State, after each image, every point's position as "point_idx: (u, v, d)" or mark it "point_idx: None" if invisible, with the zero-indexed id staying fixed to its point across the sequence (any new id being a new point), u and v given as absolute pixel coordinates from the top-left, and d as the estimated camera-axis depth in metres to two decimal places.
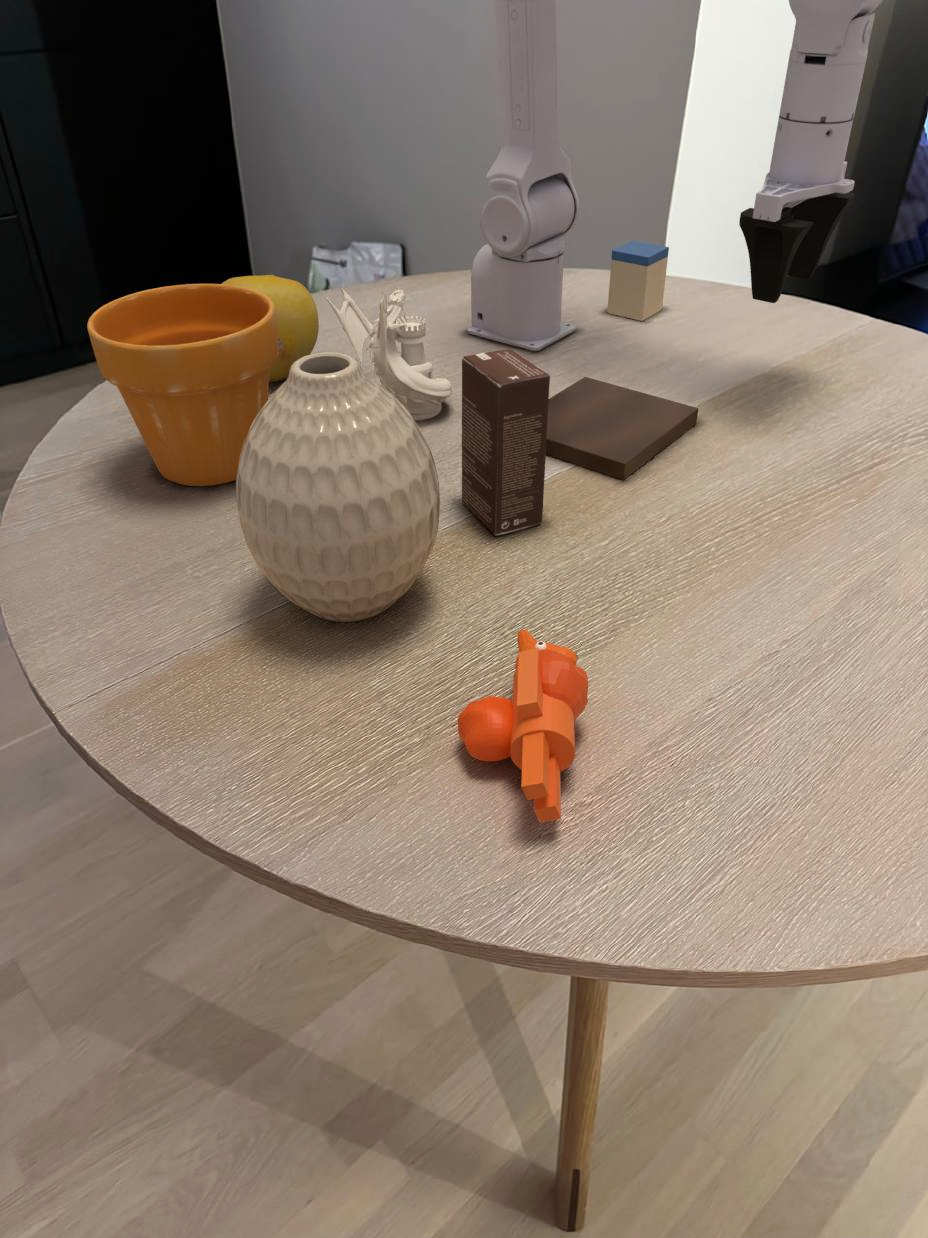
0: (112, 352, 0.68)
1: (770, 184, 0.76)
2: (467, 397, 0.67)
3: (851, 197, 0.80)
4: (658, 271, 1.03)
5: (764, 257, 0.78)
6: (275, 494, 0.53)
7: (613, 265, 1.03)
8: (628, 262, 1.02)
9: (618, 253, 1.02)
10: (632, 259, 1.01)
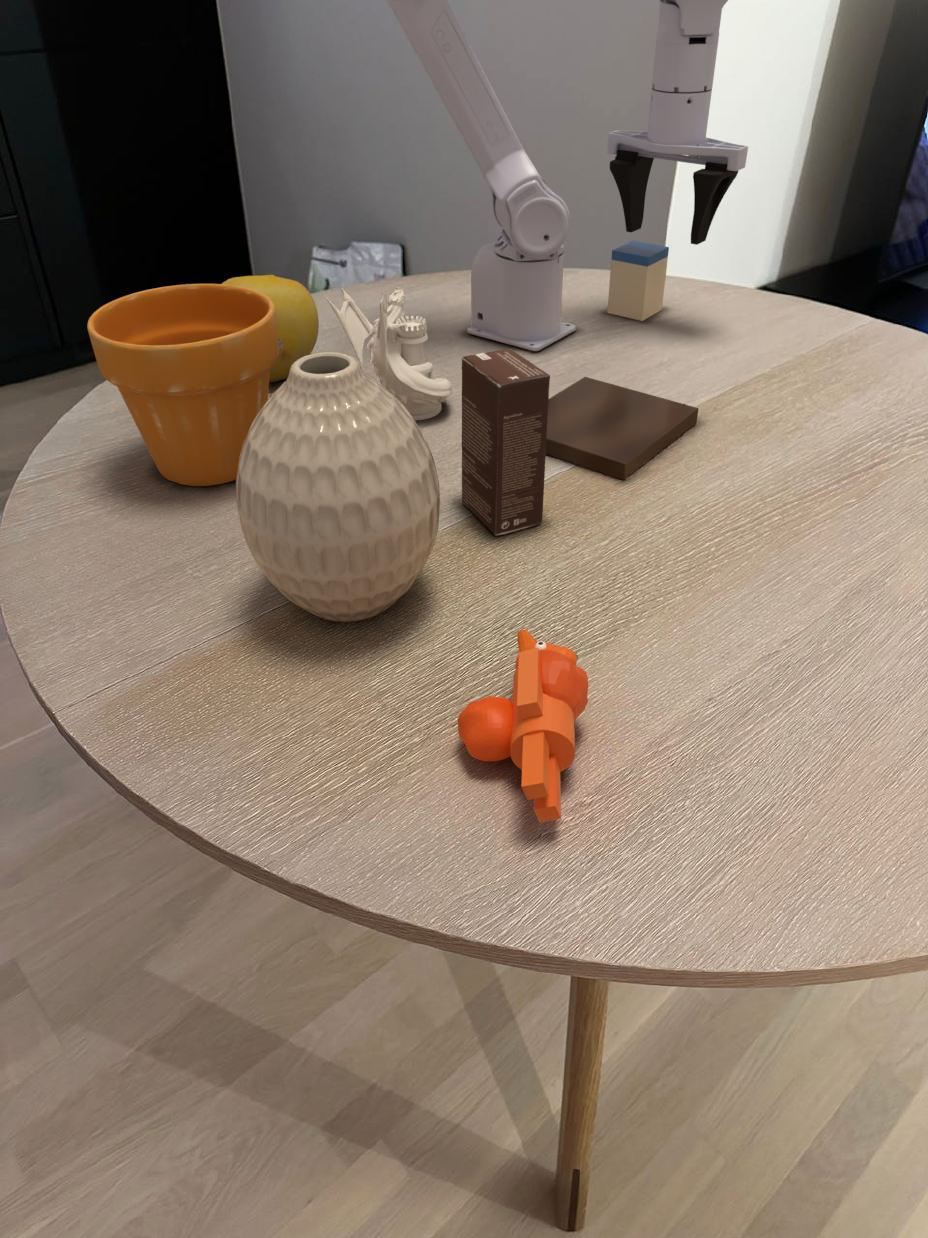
0: (112, 352, 0.68)
1: None
2: (467, 397, 0.67)
3: None
4: (658, 271, 1.03)
5: None
6: (275, 494, 0.53)
7: (613, 265, 1.03)
8: (628, 262, 1.02)
9: (618, 253, 1.02)
10: (632, 259, 1.01)
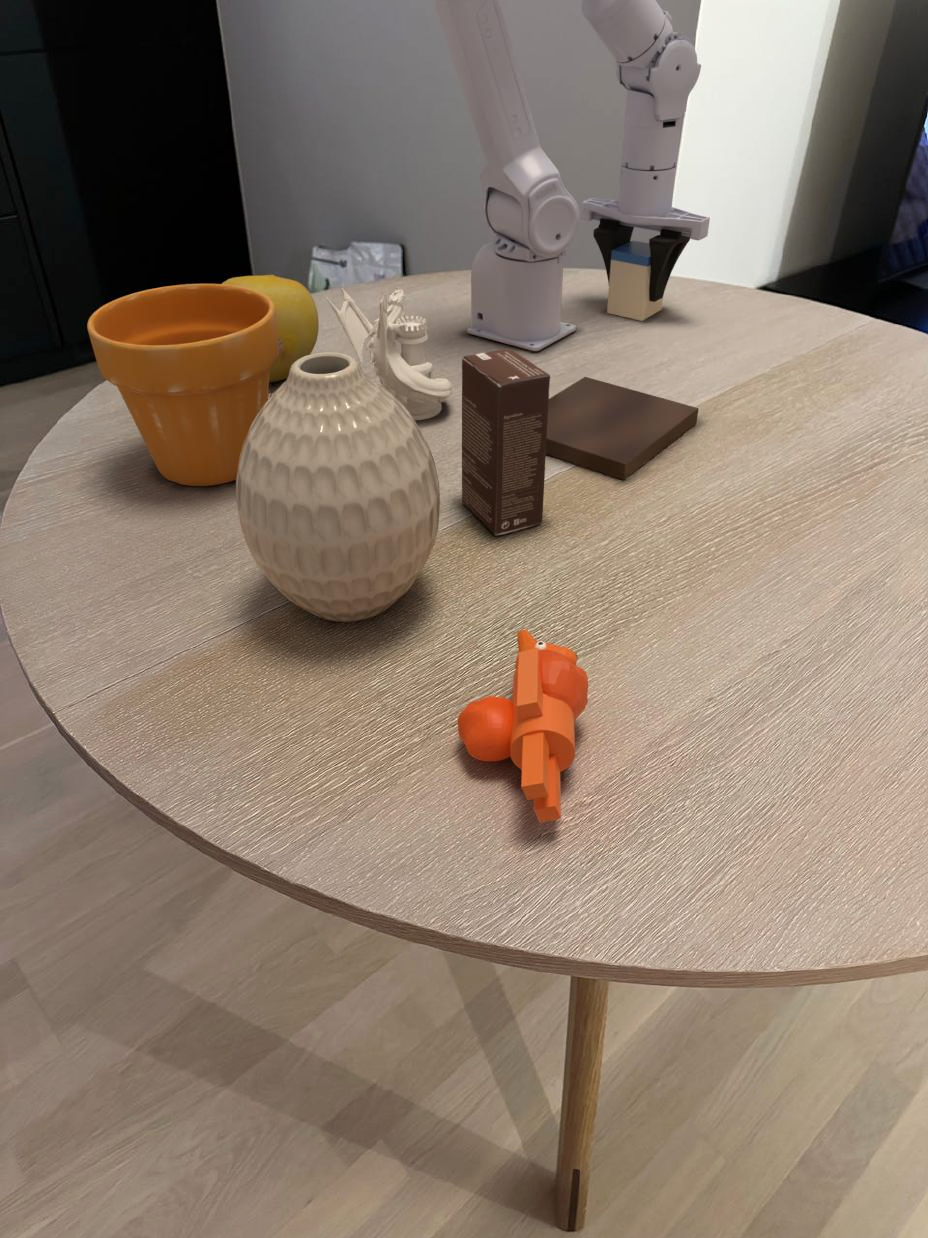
0: (112, 352, 0.68)
1: None
2: (467, 397, 0.67)
3: None
4: None
5: None
6: (275, 494, 0.53)
7: (613, 265, 1.03)
8: (627, 262, 1.02)
9: (618, 253, 1.02)
10: (632, 259, 1.01)
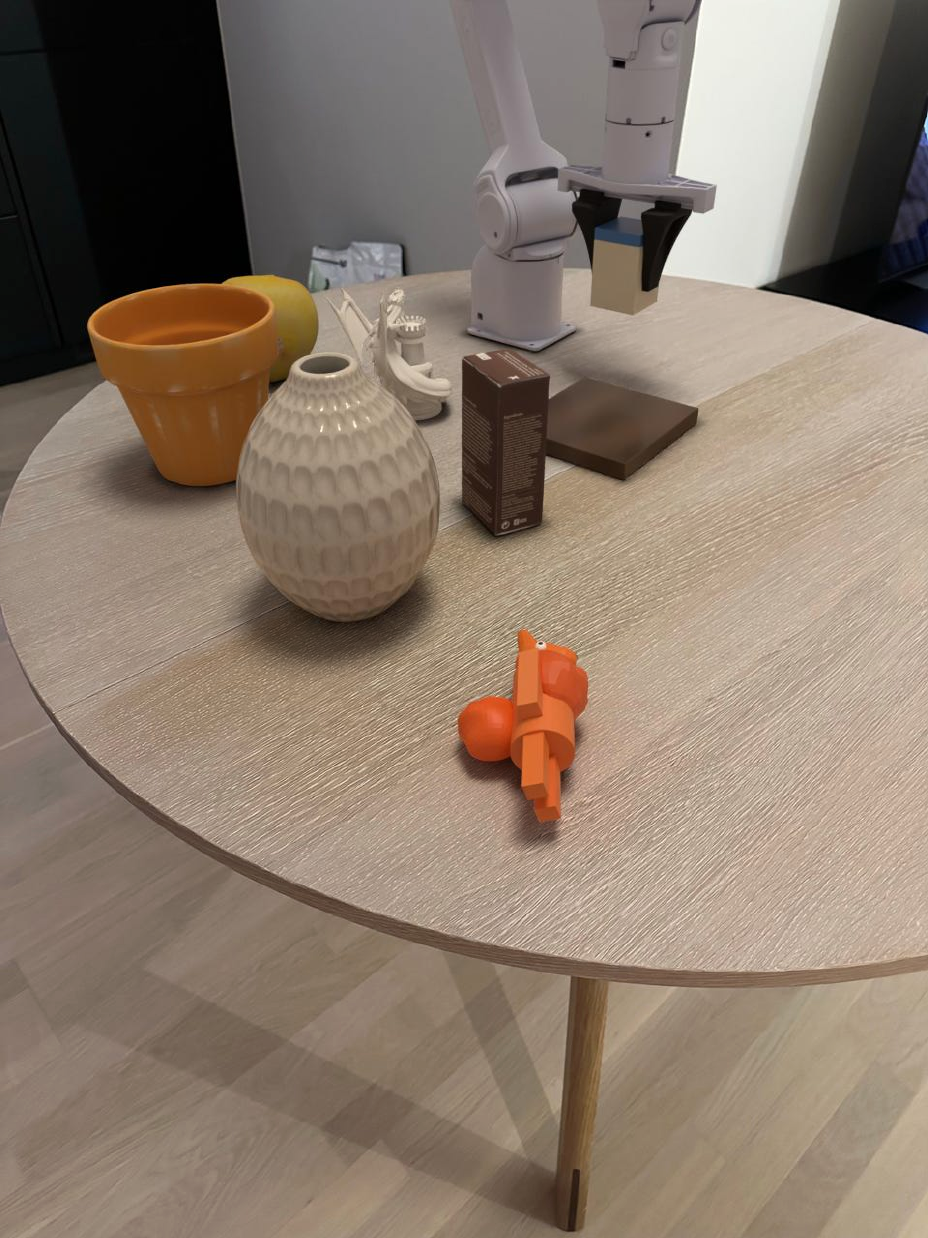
0: (112, 352, 0.68)
1: None
2: (467, 397, 0.67)
3: None
4: None
5: None
6: (275, 494, 0.53)
7: (597, 246, 0.83)
8: (614, 242, 0.82)
9: (603, 231, 0.82)
10: (620, 238, 0.82)
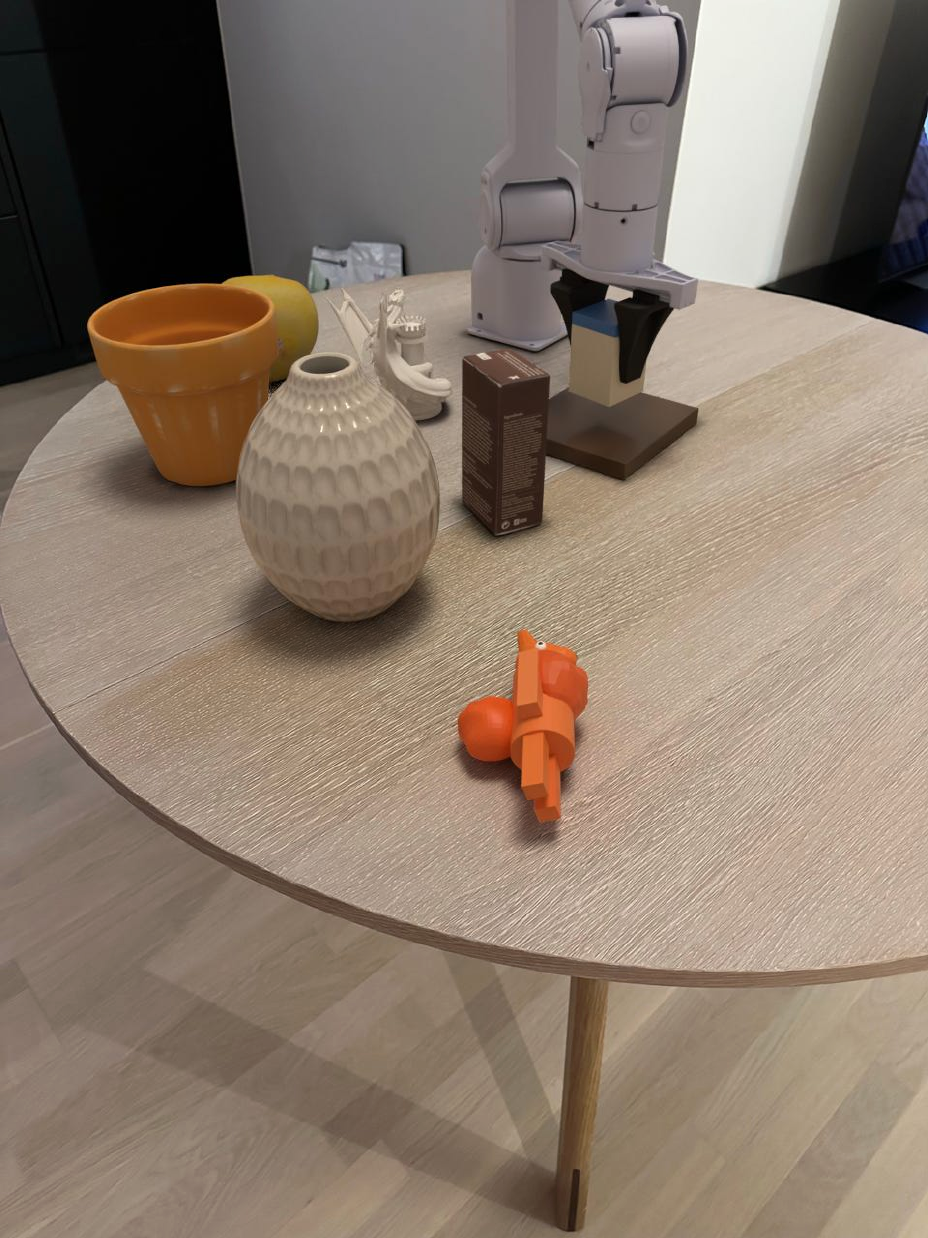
0: (112, 352, 0.68)
1: None
2: (467, 397, 0.67)
3: None
4: None
5: None
6: (275, 494, 0.53)
7: (574, 331, 0.77)
8: (591, 329, 0.76)
9: (580, 316, 0.76)
10: (596, 326, 0.75)
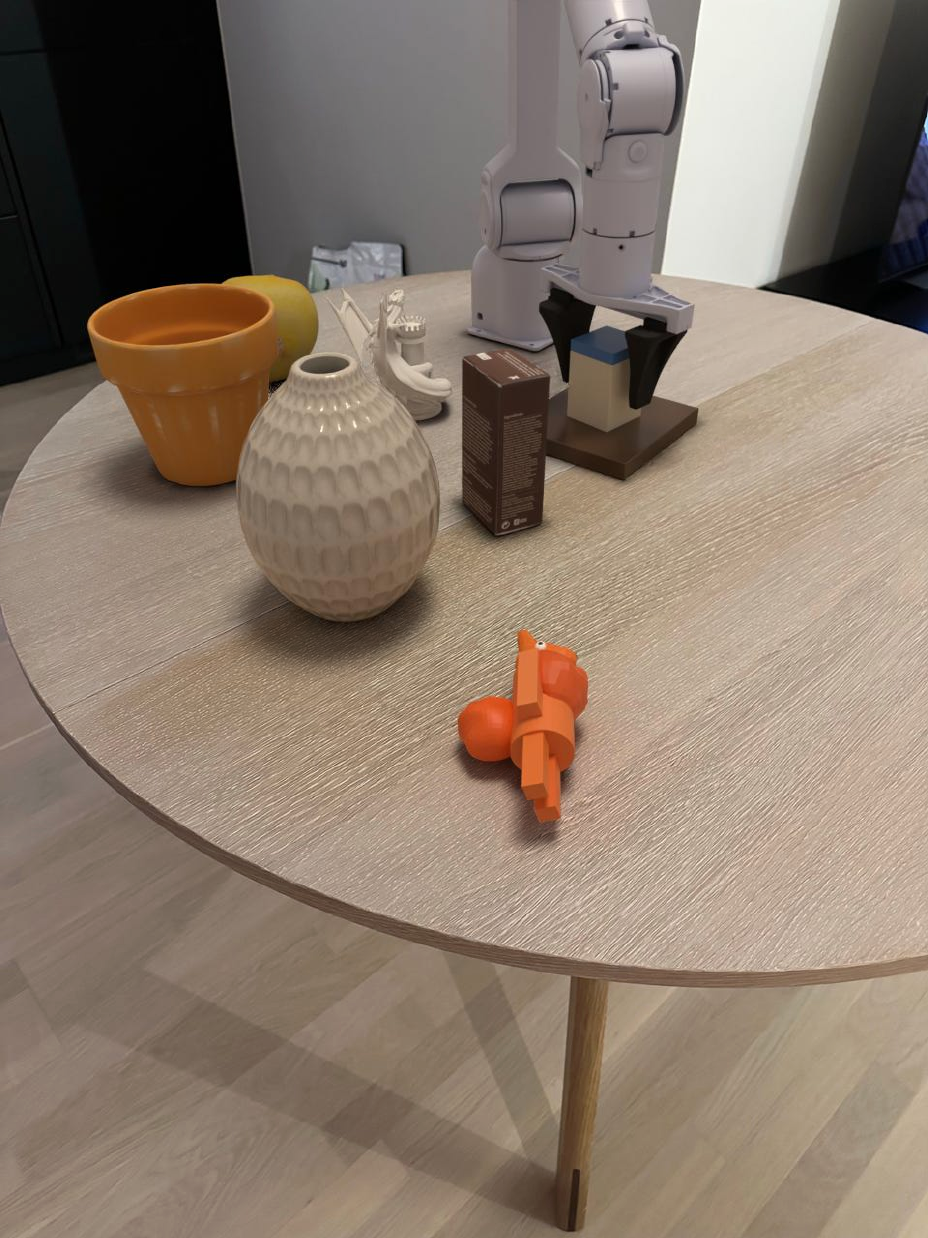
0: (112, 352, 0.68)
1: None
2: (467, 397, 0.67)
3: None
4: None
5: None
6: (275, 494, 0.53)
7: (573, 358, 0.79)
8: (589, 356, 0.77)
9: (578, 344, 0.78)
10: (594, 354, 0.77)
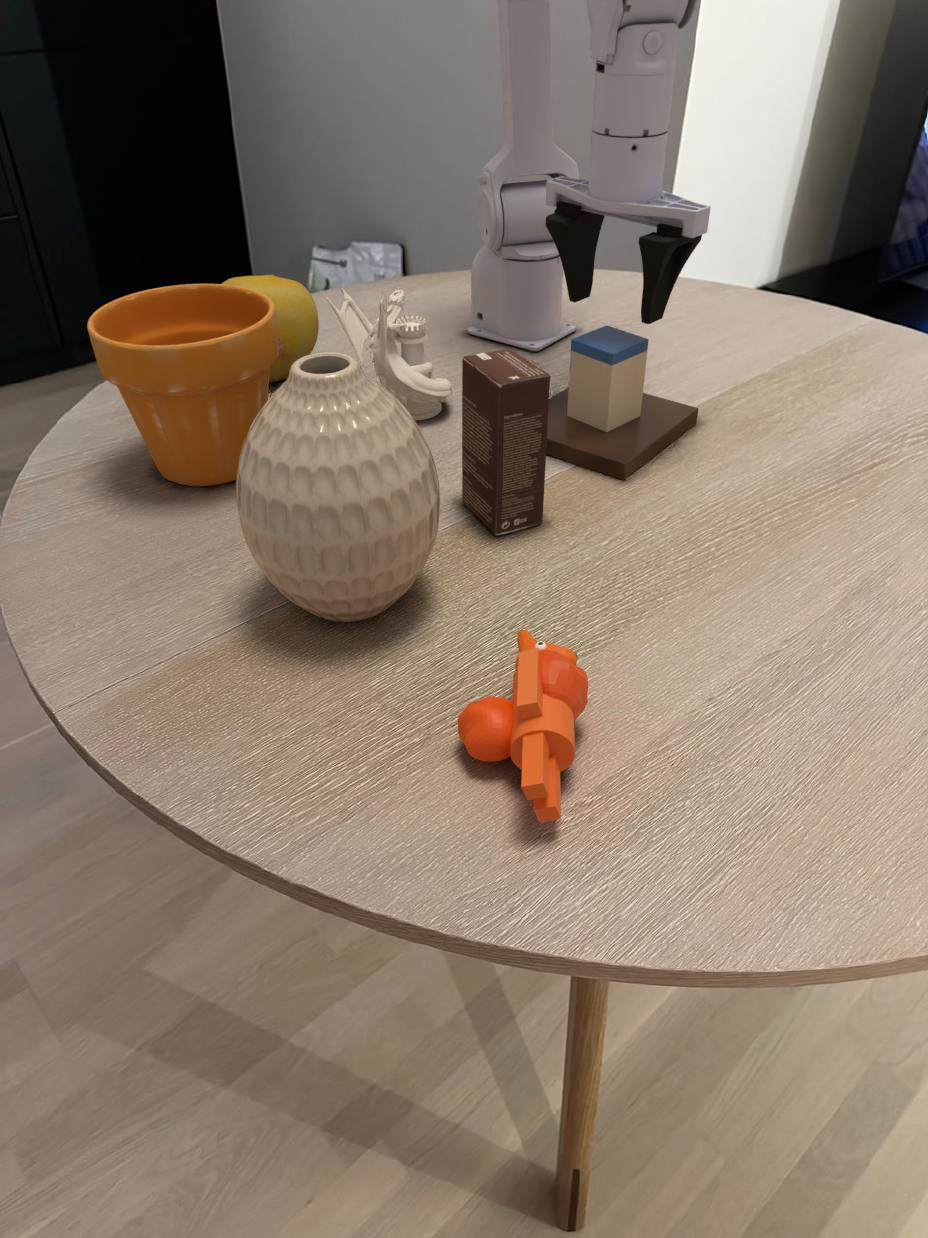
0: (112, 352, 0.68)
1: None
2: (467, 397, 0.67)
3: None
4: (631, 370, 0.78)
5: None
6: (275, 494, 0.53)
7: (573, 358, 0.79)
8: (589, 356, 0.77)
9: (578, 344, 0.78)
10: (594, 354, 0.77)
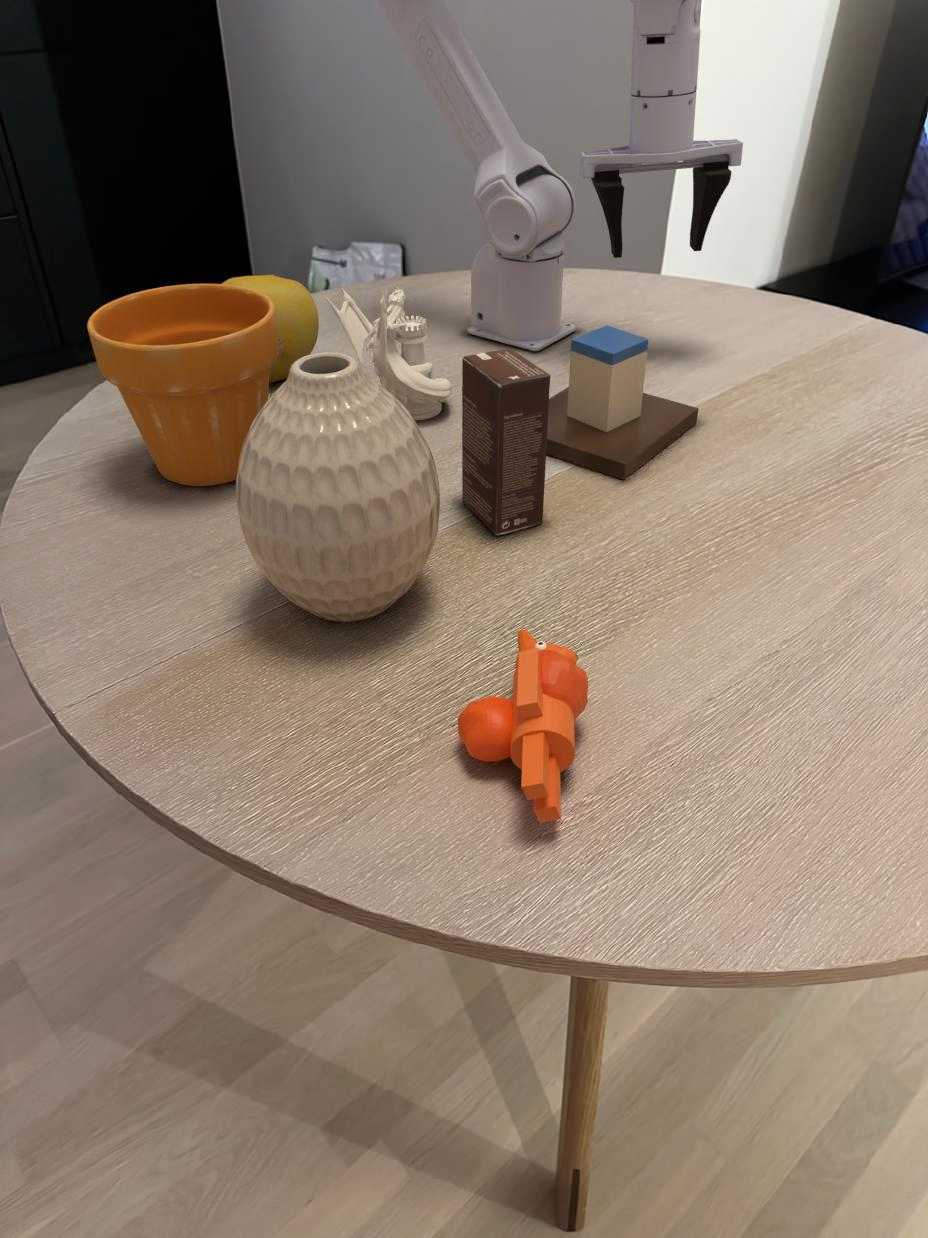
0: (112, 352, 0.68)
1: None
2: (467, 397, 0.67)
3: None
4: (631, 370, 0.78)
5: None
6: (275, 494, 0.53)
7: (573, 358, 0.79)
8: (589, 356, 0.77)
9: (578, 344, 0.78)
10: (594, 354, 0.77)
